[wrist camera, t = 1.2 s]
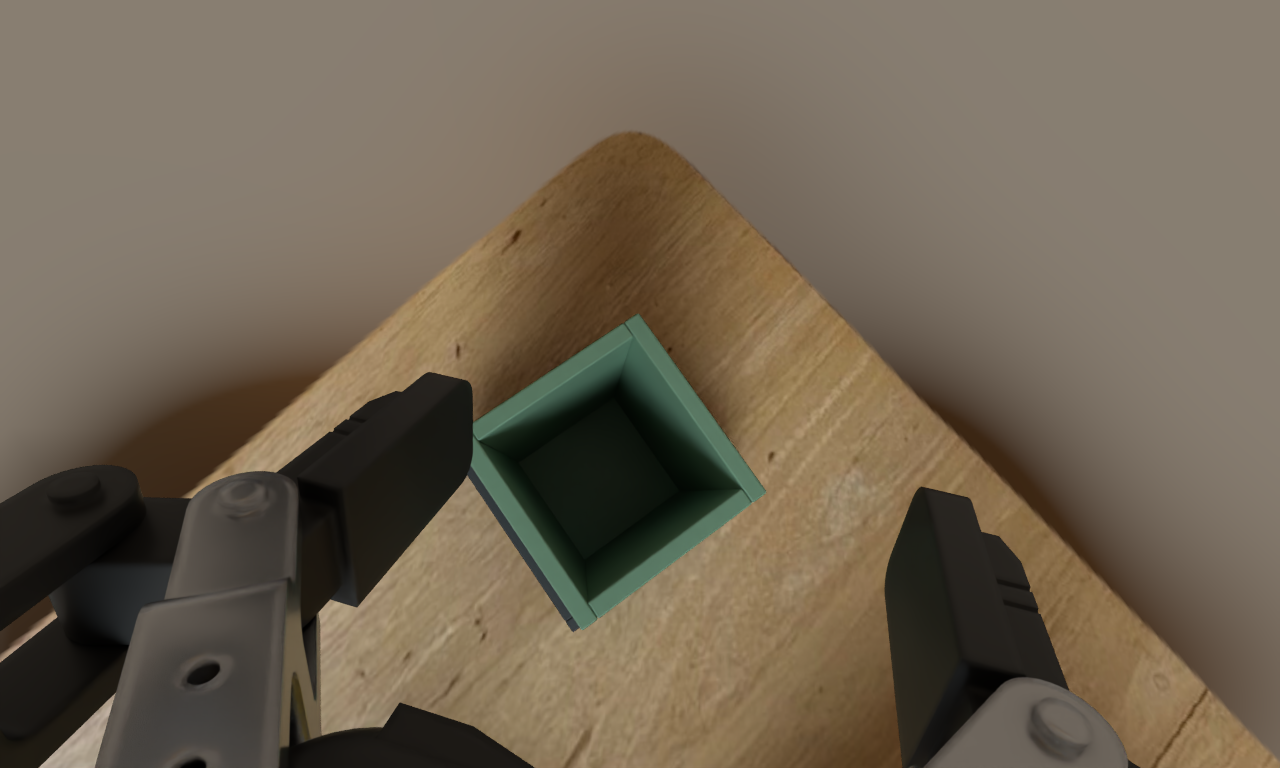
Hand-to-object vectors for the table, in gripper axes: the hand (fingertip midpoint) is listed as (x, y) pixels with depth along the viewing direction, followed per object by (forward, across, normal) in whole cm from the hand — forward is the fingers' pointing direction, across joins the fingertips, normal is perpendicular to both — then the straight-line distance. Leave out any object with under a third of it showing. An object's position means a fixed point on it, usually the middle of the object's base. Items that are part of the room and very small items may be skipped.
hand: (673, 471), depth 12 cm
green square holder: (+13, +5, +11) cm, 18 cm away
